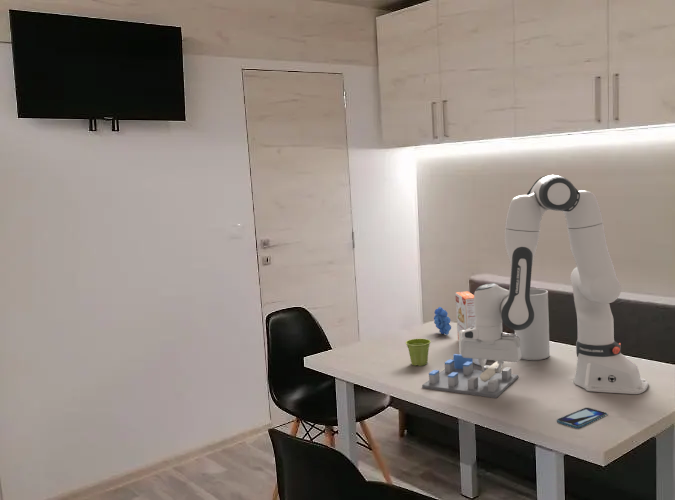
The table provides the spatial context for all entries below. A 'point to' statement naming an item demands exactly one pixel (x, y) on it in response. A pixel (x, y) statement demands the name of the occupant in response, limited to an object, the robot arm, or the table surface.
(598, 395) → the table surface
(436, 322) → the grapes
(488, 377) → the white capsule
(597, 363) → the robot arm
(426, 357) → the plant pot
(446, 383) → the grey peg board
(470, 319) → the cracker box
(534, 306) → the cylinder vase
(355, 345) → the table surface
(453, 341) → the table surface
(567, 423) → the smartphone
